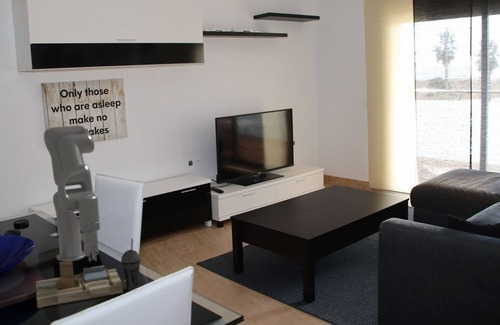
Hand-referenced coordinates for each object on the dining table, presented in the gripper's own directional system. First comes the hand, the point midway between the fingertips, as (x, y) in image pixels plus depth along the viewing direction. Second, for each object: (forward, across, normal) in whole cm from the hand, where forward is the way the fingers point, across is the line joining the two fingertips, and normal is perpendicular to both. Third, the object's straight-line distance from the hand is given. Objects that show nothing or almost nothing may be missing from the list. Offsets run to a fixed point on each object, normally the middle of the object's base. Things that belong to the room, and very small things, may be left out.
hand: (93, 269), depth 209 cm
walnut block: (+2, +10, -10) cm, 15 cm away
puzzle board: (+4, +10, -6) cm, 13 cm away
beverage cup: (+4, +17, +12) cm, 22 cm away
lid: (0, +7, 0) cm, 7 cm away
